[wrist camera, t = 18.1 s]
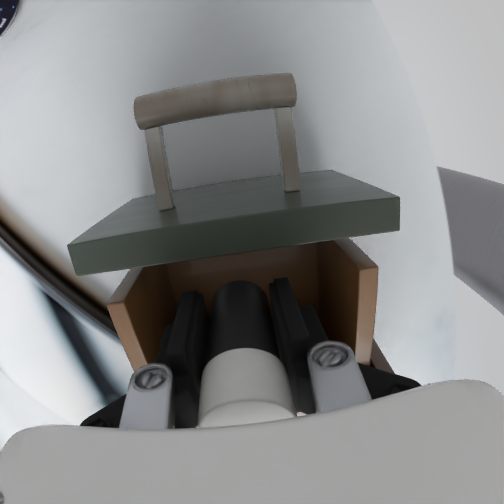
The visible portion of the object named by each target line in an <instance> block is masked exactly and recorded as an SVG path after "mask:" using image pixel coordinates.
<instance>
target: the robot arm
mask: <svg viewBox="0 0 504 504" xmlns="http://www.w3.org/2000/svg"><path fill="white" fill-rule="evenodd" d="M269 291H270V299H271V308H272V316H273V325H274V330H275V335H276V339H277V344H278V348H279V353H280V358H281V362H282V363H283V364H284V366H285V368H286V372H287V374H288V378H289V382H290V387H291V391H292V395H293V400H294V404H295V408H296V413H299V412H302V413H304V414H307V415H303V416H298V417H292V418H286V419H279V420H273V421H266V422H258V423H250V424H241V425H231V426H219V427H205V428H196V427H197V426H198V412H199V400H200V388H201V377H202V372H203V370H204V368H205V366H206V356H207V345H208V333H209V319H208V314H207V310H206V306H205V302H204V297H203V294H202V293H198V292H197V290H192V291H184V292H182V295H181V299H180V302H179V306H178V310H177V313H176V317H175V321H174V324H171V325H166V327H165V330H164V333H163V337H162V340H161V344H160V347H159V351H158V354H157V358H156V361H155V363H151V364H147V365H144V366H142V367H140V368H139V369H137V370H136V371H135V372H134V373H133V374H132V377H131V379H130V383H129V387H128V391H127V394H125V395H124V396H122V397H121V398H119V399H117V400H116V401H114V402H112V403H111V404H109V405H108V406H106V407H104V408H103V409H101V410H99V411H98V412H96V413H94V414H93V415H91V416H89V417H88V418H87V419H85V420H84V421H83V422H82V423H81V425H80V426H74V425H41V426H36V427H31V428H27V429H24V430H21V431H19V432H17V433H15V434H14V435H13V436H12V437H11V438H10V439H9V440H8V441H7V443H6V444H5V446H4V447H3V449H2V450H1V452H0V504H504V396H503V395H502V394H501V393H500V392H499V391H498V390H497V389H495V388H494V387H493V386H491V385H489V384H488V383H485V382H482V381H478V380H467V379H465V380H449V381H443V382H437V383H432V384H428V385H424V386H421V385H420V384H419V383H418V382H417V381H415V380H412V379H410V378H406V377H403V376H400V375H396V374H393V373H389V372H386V371H383V370H380V369H377V368H373V367H370V366H367V365H364V364H361V363H358V362H357V361H356V358H355V356H354V353H353V351H352V349H351V348H350V347H349V346H348V345H346V344H345V343H342V342H340V341H333V340H332V341H329V340H328V338H327V336H326V333H325V331H324V329H323V327H322V324H321V322H320V320H319V318H318V316H317V313H316V311H315V309H314V307H313V305H309V306H303V307H299V306H298V303H297V301H296V298H295V295H294V293H293V290H292V288H291V285H290V282H289V280H288V277H284V278H277V279H274V283H269Z"/></svg>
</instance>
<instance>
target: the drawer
mask: <svg viewBox="0 0 504 504" xmlns="http://www.w3.org/2000/svg"><path fill="white" fill-rule="evenodd" d="M296 100H297V92H296V84H295V80H294V77H293V75H292V74H291V73H280V74H267V75H256V76H247V77H239V78H231V79H224V80H217V81H211V82H204V83H199V84H193V85H188V86H183V87H178V88H173V89H168V90H164V91H159V92H155V93H151V94H147V95H143V96H139V97H137V98H135V100H134V116H135V120H136V123H137V125H138V127H139V128H140V129H141V130H145V136H146V142H147V149H148V155H149V161H150V166H151V172H152V177H153V183H154V188H155V193H156V194H155V195H150V196H145V197H140V198H135V199H132V200H130V201H129V202H127V203H126V204H124V205H123V206H121V207H120V208H118V209H117V210H115V211H114V212H113V213H111V214H110V215H108V216H107V217H105V218H104V219H102V220H101V221H100V222H98V223H97V224H95V225H94V226H93V227H91V228H90V229H88V230H87V231H86V232H84V233H83V234H82V235H80V236H79V237H78V238H76V239H75V240H74V241H72V242H71V243H70V244H68V245H67V247H68V250H69V254H70V257H71V260H72V263H73V266H74V269H75V272H76V275H77V276H82V275H89V274H96V273H103V272H110V271H117V270H124V269H130V271H129V272H128V273H127V275H126V276H125V278H124V279H123V281H122V282H121V284H120V285H119V286H118V288H117V289H116V291H115V292H114V294H113V295H112V297H111V298H110V300H109V301H108V303H107V307H108V310H109V313H110V315H111V318H112V321H113V323H114V326H115V328H116V331H117V333H118V336H119V338H120V340H121V343H122V345H123V347H124V350H125V352H126V354H127V357H128V359H129V361H130V363H131V365H132V368H133V370H134V372H135V371H136V370H137V369H139V368H140V367H142V366H144V365H147V364H151V363H155V361H156V358H157V354H158V351H159V347H160V344H161V340H162V337H163V333H164V330H165V327H166V325H171V324H174V321H175V317H176V313H177V310H178V306H179V302H180V299H181V295H182V292H184V291H192V290H197V292H198V293H202V294H203V297H204V302H205V306H206V310H207V314H208V319H209V322H210V312H211V302H212V298H213V295H214V294H215V292H216V291H217V290H218V288H220V287H221V286H222V285H224V284H226V283H228V282H231V281H235V280H245V281H250V282H252V283H255V284H256V285H258V286H259V287H260V288H261V289H262V290H263V291H264V292H265V294H266V296H267V299H268V303H269V308H270V312H271V317H272V321H273V316H272V308H271V299H270V291H269V283H274V279H277V278H284V277H288V280H289V282H290V285H291V288H292V290H293V293H294V295H295V298H296V301H297V303H298V306H299V307H303V306H309V305H313V307H314V309H315V311H316V313H317V316H318V318H319V320H320V322H321V324H322V327H323V329H324V331H325V333H326V336H327V338H328V340H329V341H332V340H333V341H340V342H342V343H345V344H346V345H348V346H349V347H350V348H351V349H352V351H353V353H354V356H355V358H356V361H357V362H358V363H361V364H364V365H367V366H370V358H371V351H372V342H373V334H374V324H375V313H376V301H377V286H378V266H377V265H376V264H375V263H374V262H373V261H372V260H371V259H370V258H369V257H368V256H367V255H366V254H365V253H364V252H363V251H362V250H361V249H360V248H359V247H358V246H357V245H356V244H355V243H354V242H352V241H351V240H350V239H349V238H350V237H357V236H364V235H371V234H378V233H386V232H393V231H399V230H400V197H398V196H396V195H394V194H391V193H389V192H386V191H384V190H382V189H379V188H377V187H374V186H372V185H369V184H367V183H364V182H362V181H359V180H357V179H354V178H352V177H349V176H346V175H344V174H341V173H338V172H336V171H333V170H325V171H314V172H305V173H299V168H298V159H297V150H296V141H295V133H294V125H293V117H292V109H291V107H294V106H295V105H296ZM275 108H276V109H275ZM265 109H274V114H275V121H276V129H277V137H278V145H279V153H280V162H281V170H282V175H278V176H270V177H262V178H254V179H247V180H239V181H232V182H226V183H219V184H213V185H206V186H200V187H194V188H188V189H182V190H177V191H173V190H172V185H171V179H170V173H169V168H168V162H167V156H166V149H165V143H164V137H163V130H162V127H160V126H164V125H169V124H174V123H179V122H184V121H189V120H195V119H200V118H206V117H212V116H218V115H225V114H232V113H239V112H247V111H256V110H265ZM273 326H274V325H273Z"/></svg>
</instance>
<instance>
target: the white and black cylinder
mask: <svg viewBox="0 0 504 504" xmlns="http://www.w3.org/2000/svg"><path fill="white" fill-rule="evenodd" d="M292 417H297V413H296V408H295V404H294V400H293V395H292V391H291V387H290V382H289V378H288V374H287V372H286V368H285V366H284V364H283V363H282V362H281V358H280V353H279V348H278V344H277V339H276V335H275V330H274V326H273V321H272V317H271V312H270V308H269V303H268V299H267V296H266V294H265V292H264V291H263V290H262V289H261V288H260V287H259V286H258V285H256V284H255V283H252V282H250V281H245V280H235V281H231V282H228V283H226V284H224V285H222V286H221V287H220V288H218V290H217V291H216V292H215V294H214V295H213V298H212V302H211V312H210V322H209V333H208V345H207V356H206V366H205V368H204V370H203V372H202V377H201V388H200V400H199V412H198V428H205V427H219V426H231V425H241V424H250V423H258V422H266V421H273V420H279V419H286V418H292Z"/></svg>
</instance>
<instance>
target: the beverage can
mask: <svg viewBox="0 0 504 504" xmlns="http://www.w3.org/2000/svg"><path fill="white" fill-rule="evenodd" d="M18 2H19V0H0V37H1V36H2V35H3V34H4V33H5V32H6V31H7V29H8V28H9V27H10V25H11V23H12V22H13V20H14V18H15V15H16V13H17V9H18Z"/></svg>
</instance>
